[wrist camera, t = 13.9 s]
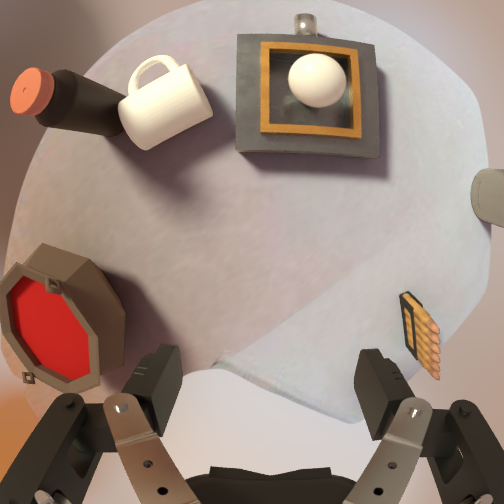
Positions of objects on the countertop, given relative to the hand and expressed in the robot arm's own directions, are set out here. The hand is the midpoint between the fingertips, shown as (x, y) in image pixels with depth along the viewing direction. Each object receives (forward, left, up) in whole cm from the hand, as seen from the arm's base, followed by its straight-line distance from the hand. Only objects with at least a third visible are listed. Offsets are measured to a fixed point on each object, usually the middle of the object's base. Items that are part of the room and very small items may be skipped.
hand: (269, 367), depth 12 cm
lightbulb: (-5, -19, -29) cm, 35 cm away
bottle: (+23, -18, -30) cm, 42 cm away
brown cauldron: (+31, +12, -30) cm, 45 cm away
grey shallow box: (-5, -21, -30) cm, 37 cm away
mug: (+14, -19, -30) cm, 38 cm away
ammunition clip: (-24, +14, -30) cm, 41 cm away
